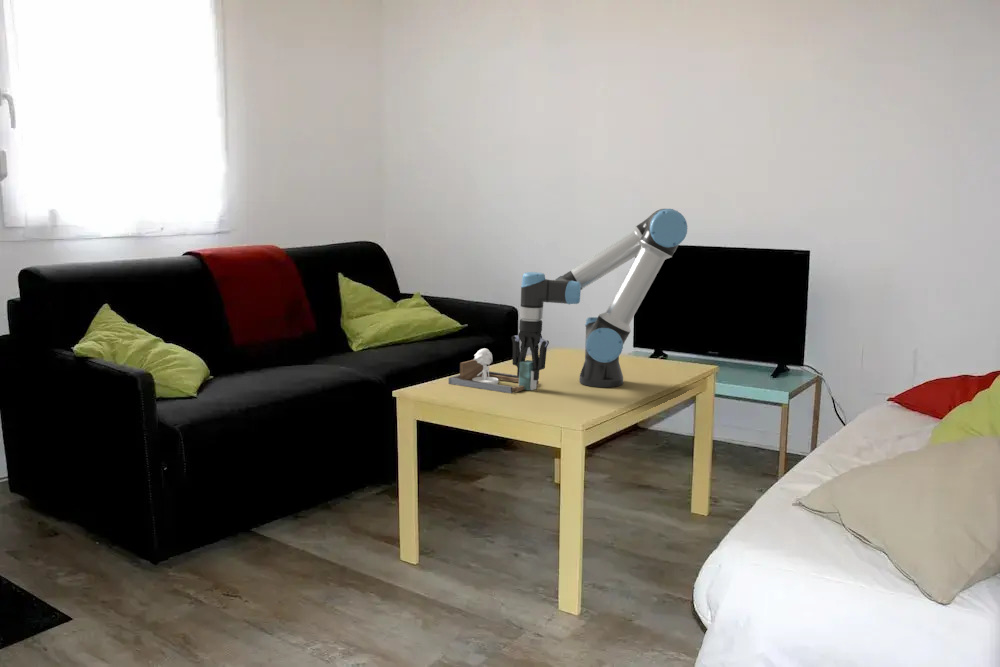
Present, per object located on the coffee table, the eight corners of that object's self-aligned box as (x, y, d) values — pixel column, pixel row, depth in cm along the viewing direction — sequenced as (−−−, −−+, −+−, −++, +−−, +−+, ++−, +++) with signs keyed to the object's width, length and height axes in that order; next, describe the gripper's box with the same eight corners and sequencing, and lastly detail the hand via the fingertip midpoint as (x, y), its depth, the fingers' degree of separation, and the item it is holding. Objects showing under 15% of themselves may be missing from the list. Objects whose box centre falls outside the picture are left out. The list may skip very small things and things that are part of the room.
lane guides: (538, 383, 298) (538, 378, 297) (510, 393, 283) (510, 387, 283) (477, 375, 311) (477, 369, 311) (448, 383, 297) (448, 377, 297)
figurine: (498, 385, 295) (498, 350, 293) (471, 385, 295) (471, 350, 293) (498, 379, 304) (498, 346, 302) (472, 379, 304) (472, 345, 302)
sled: (542, 385, 295) (543, 359, 293) (521, 392, 283) (521, 365, 282) (482, 376, 308) (482, 351, 307) (460, 383, 297) (460, 357, 295)
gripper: (559, 321, 284) (554, 390, 288) (515, 314, 293) (512, 381, 298) (547, 324, 278) (543, 394, 282) (503, 317, 287) (500, 385, 291)
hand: (527, 387), depth 290 cm, fingers closed on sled, 4 cm apart
